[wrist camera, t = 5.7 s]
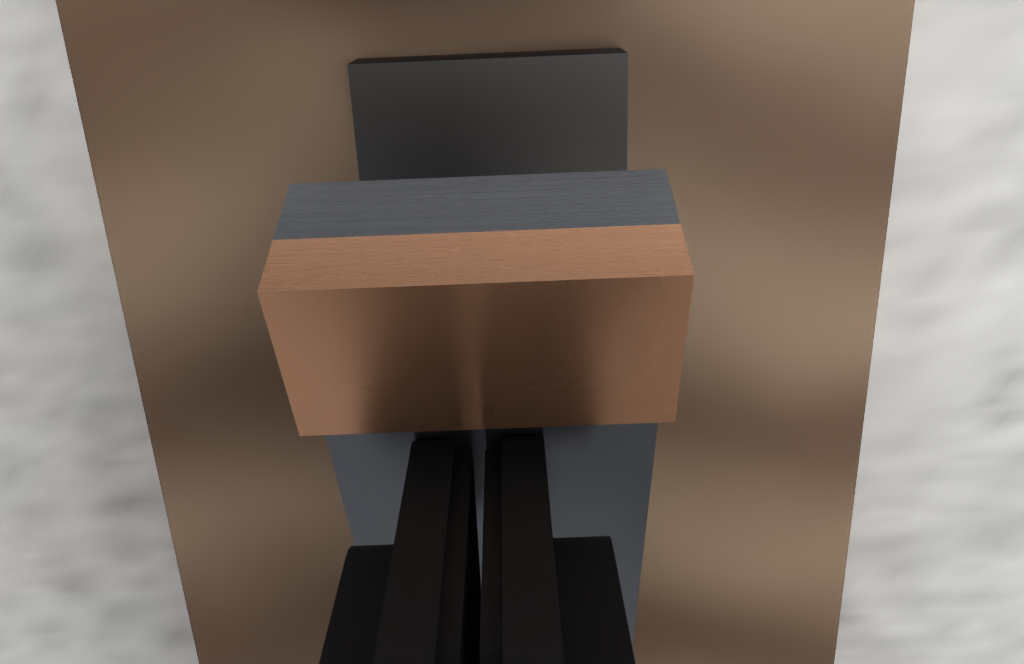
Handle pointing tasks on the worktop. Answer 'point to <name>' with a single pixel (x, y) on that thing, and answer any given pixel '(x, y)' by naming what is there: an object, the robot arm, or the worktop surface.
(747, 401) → the latch board
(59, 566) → the worktop surface
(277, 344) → the strap
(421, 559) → the robot arm
